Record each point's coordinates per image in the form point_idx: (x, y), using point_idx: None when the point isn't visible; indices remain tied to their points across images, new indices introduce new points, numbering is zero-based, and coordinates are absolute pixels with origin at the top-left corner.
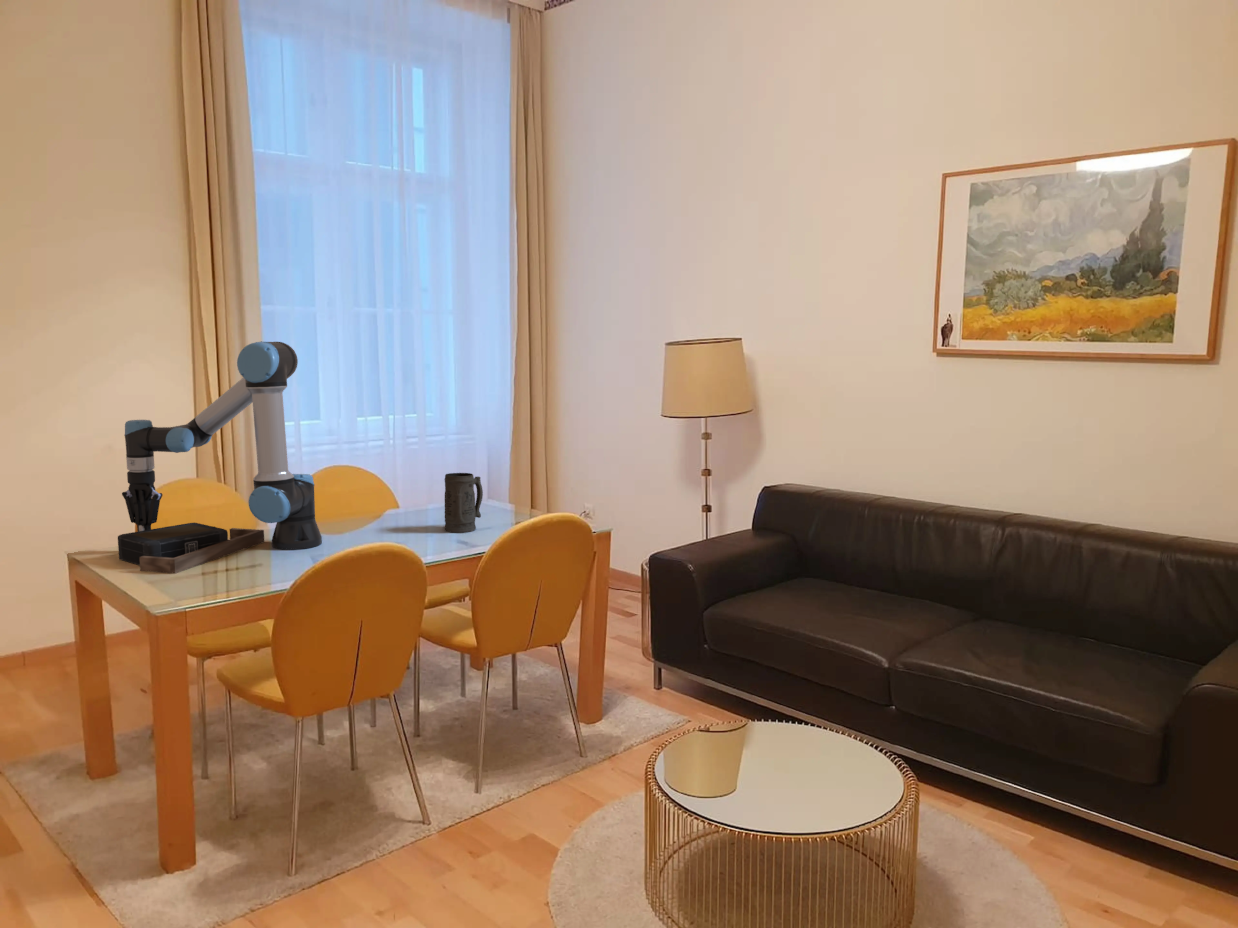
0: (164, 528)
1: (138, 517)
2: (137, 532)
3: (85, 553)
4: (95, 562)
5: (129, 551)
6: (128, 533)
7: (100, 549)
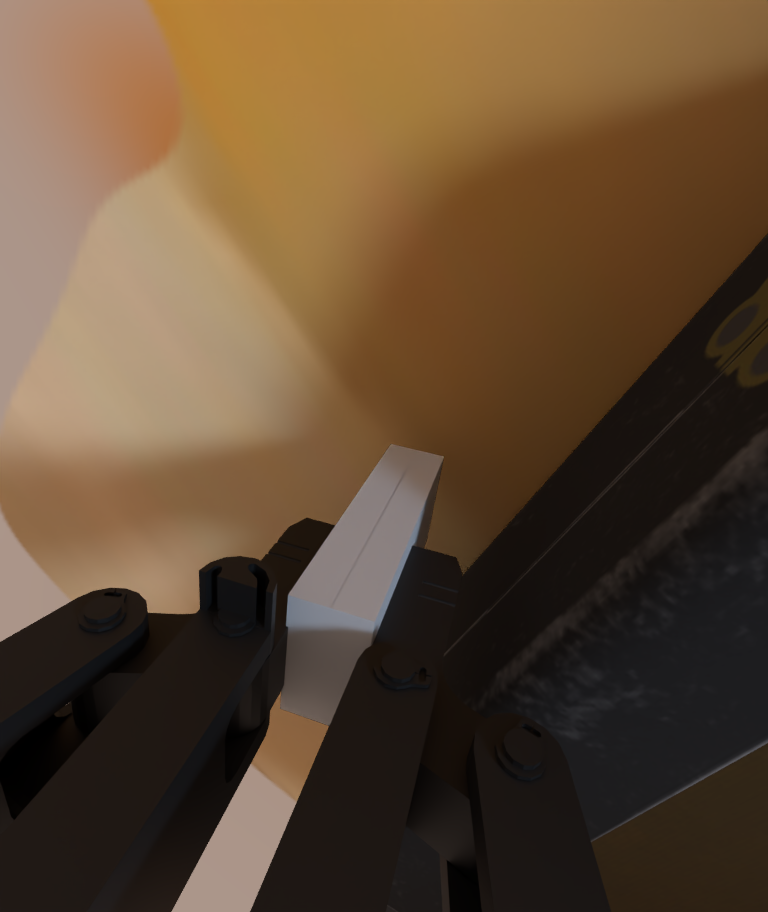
0: (750, 714)
1: (201, 851)
2: (436, 868)
3: (44, 523)
4: (285, 748)
5: None
6: None
7: (28, 403)
